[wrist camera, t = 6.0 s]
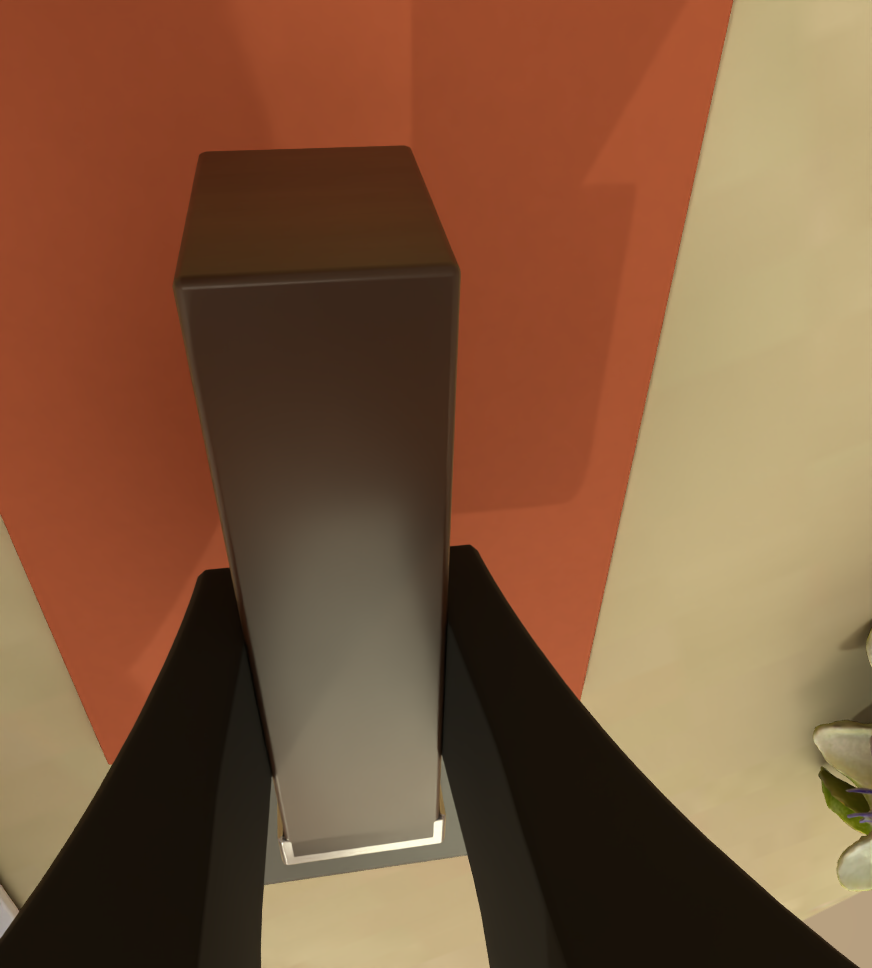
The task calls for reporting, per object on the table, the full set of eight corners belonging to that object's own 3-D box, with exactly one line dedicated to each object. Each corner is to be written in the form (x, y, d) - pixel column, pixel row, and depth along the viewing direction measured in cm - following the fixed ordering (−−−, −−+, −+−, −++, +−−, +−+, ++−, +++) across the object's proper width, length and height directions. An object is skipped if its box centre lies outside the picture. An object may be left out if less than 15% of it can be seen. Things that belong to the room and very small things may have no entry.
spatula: (474, 833, 18) (503, 979, 16) (248, 865, 18) (244, 1022, 15) (541, 138, 9) (636, 256, 6) (51, 153, 8) (-34, 291, 6)
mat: (575, 694, 24) (579, 706, 23) (110, 752, 22) (107, 765, 22) (766, -206, 11) (779, -207, 11) (-306, -235, 9) (-327, -237, 9)
